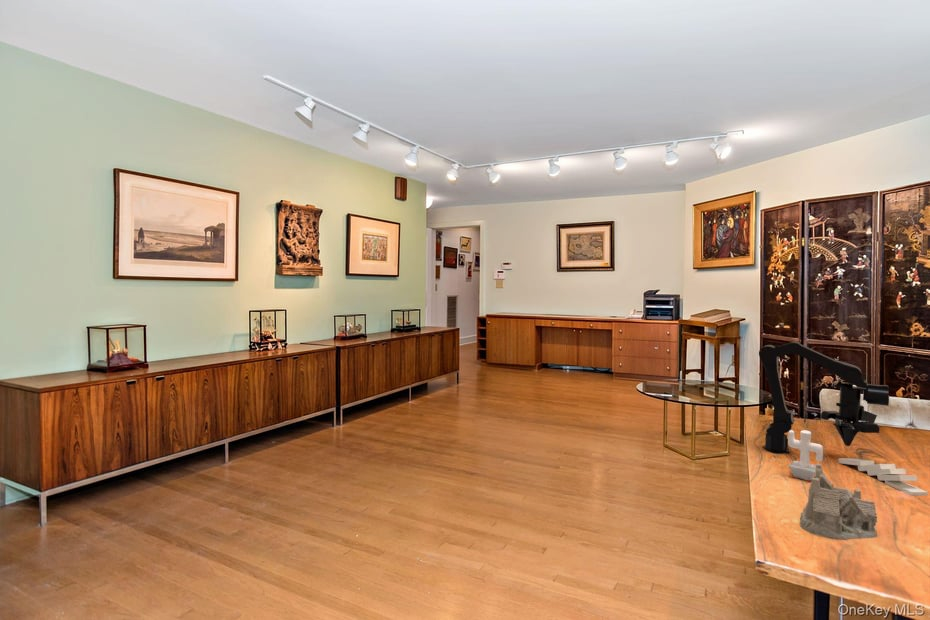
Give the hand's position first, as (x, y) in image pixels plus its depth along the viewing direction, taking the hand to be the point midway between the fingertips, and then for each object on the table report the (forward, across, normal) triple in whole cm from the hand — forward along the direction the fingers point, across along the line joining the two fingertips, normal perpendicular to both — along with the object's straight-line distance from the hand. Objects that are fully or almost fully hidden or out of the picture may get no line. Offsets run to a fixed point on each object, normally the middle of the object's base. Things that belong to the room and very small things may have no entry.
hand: (847, 445), depth 174 cm
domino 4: (+5, -15, 0) cm, 16 cm away
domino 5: (+6, -18, 0) cm, 19 cm away
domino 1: (+5, 0, 0) cm, 5 cm away
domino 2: (+5, -7, 0) cm, 9 cm away
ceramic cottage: (+6, -45, +42) cm, 62 cm away
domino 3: (+5, -11, 0) cm, 12 cm away
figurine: (+6, -12, +25) cm, 29 cm away
